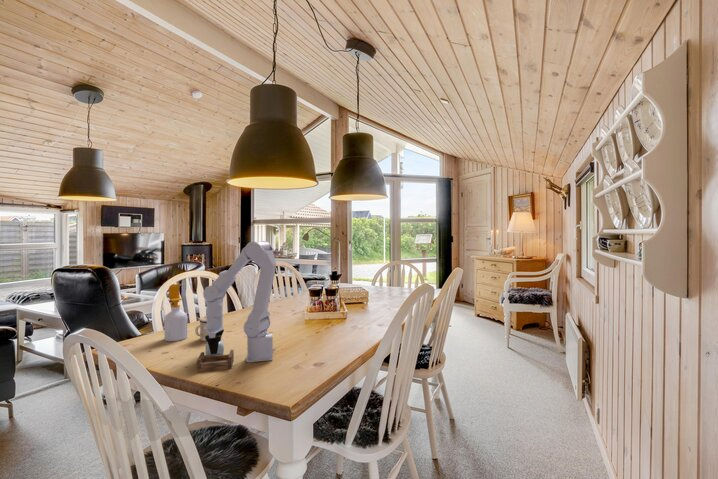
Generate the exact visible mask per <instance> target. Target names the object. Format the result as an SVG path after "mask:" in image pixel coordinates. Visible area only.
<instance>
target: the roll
mask: <svg viewBox="0 0 718 479" xmlns="http://www.w3.org/2000/svg"><path fill="white" fill-rule="evenodd" d="M224 352H225V342H224V341H223V340H221V341H220V342H219V345H218V351H217V354H211V353H210V349H209V345H208V342H207V341H206V344H205V356H214V355H225V353H224Z"/></svg>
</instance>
